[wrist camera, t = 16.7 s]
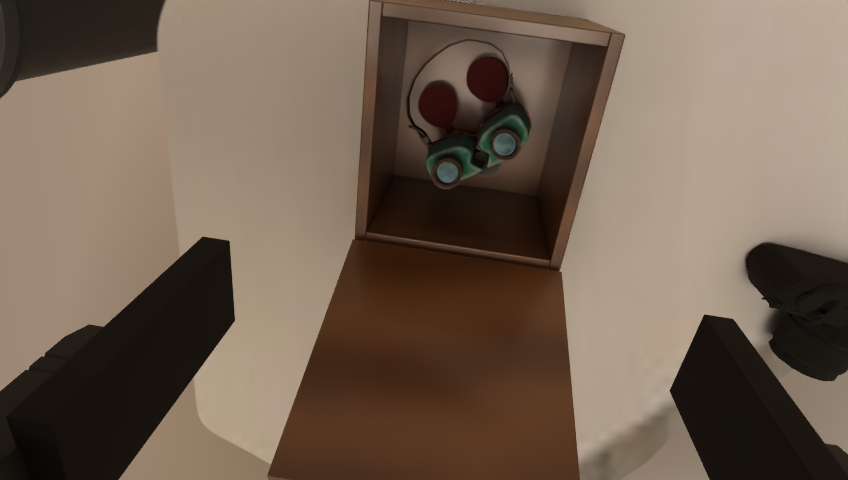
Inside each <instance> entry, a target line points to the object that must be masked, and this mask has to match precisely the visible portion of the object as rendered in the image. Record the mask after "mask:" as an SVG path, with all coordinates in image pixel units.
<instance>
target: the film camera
mask: <svg viewBox="0 0 848 480" xmlns="http://www.w3.org/2000/svg"><path fill="white" fill-rule="evenodd" d="M746 267H747V271H748V278H749V280H750V282H751V283H752V284H753V285H754V286H755V287H756V288H757V289H758V291H759V292H760V293H761V294H762V295H763V296H764V297H763V298H762V299H764V300H766V301H767V302H768V303H769V307H770V308H781V307H782V308H783V309H784V310H785V311H786V312H785V313H784V319H782V320H781V321H780V322H779V324H778V325H777V326H776V327H775V329H774V330H773V333H772V334H773V338H772V339H771V340H770V341H769V345H770V347H771V349H772V351H773V352H774V353H775V354H776V355H777V357H778V358H779V359H781V360H782V361H784V362H785V363H786V364H788V365H789V366H790V367H791V368H793V369H795V370H797V371H799V372H800V373H802V374H804V375H806V376H809V377H812V378H815V379H818V380H821V381H834V380H835V379H836V378H837V376H838V375H841V374H843V373H845V372H846V371H847V370H848V264H847V263H844V262H840V261H837V260H834V259H830V258H826V257H823V256H819V255H815V254H812V253H808V252H804V251H801V250H796V249H792V248H788V247H784V246H779V245H775V244H763V245H760V246H758V247H756V248H755V249H753V250H752V251H751V252H750V254H749V255H748V257H747V258H746Z"/></svg>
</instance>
